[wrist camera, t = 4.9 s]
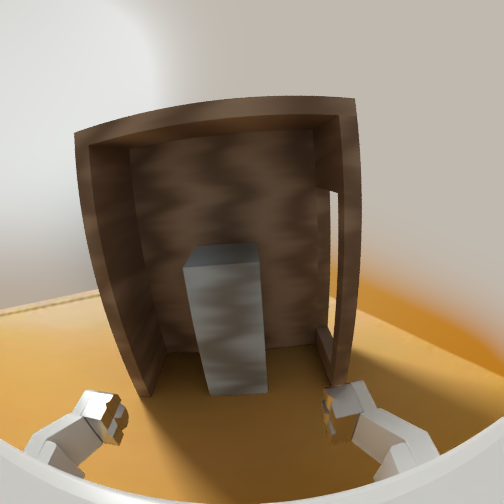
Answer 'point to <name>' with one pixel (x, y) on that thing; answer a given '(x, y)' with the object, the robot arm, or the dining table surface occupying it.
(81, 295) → the dining table surface
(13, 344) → the dining table surface
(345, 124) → the walnut box
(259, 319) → the slate block
